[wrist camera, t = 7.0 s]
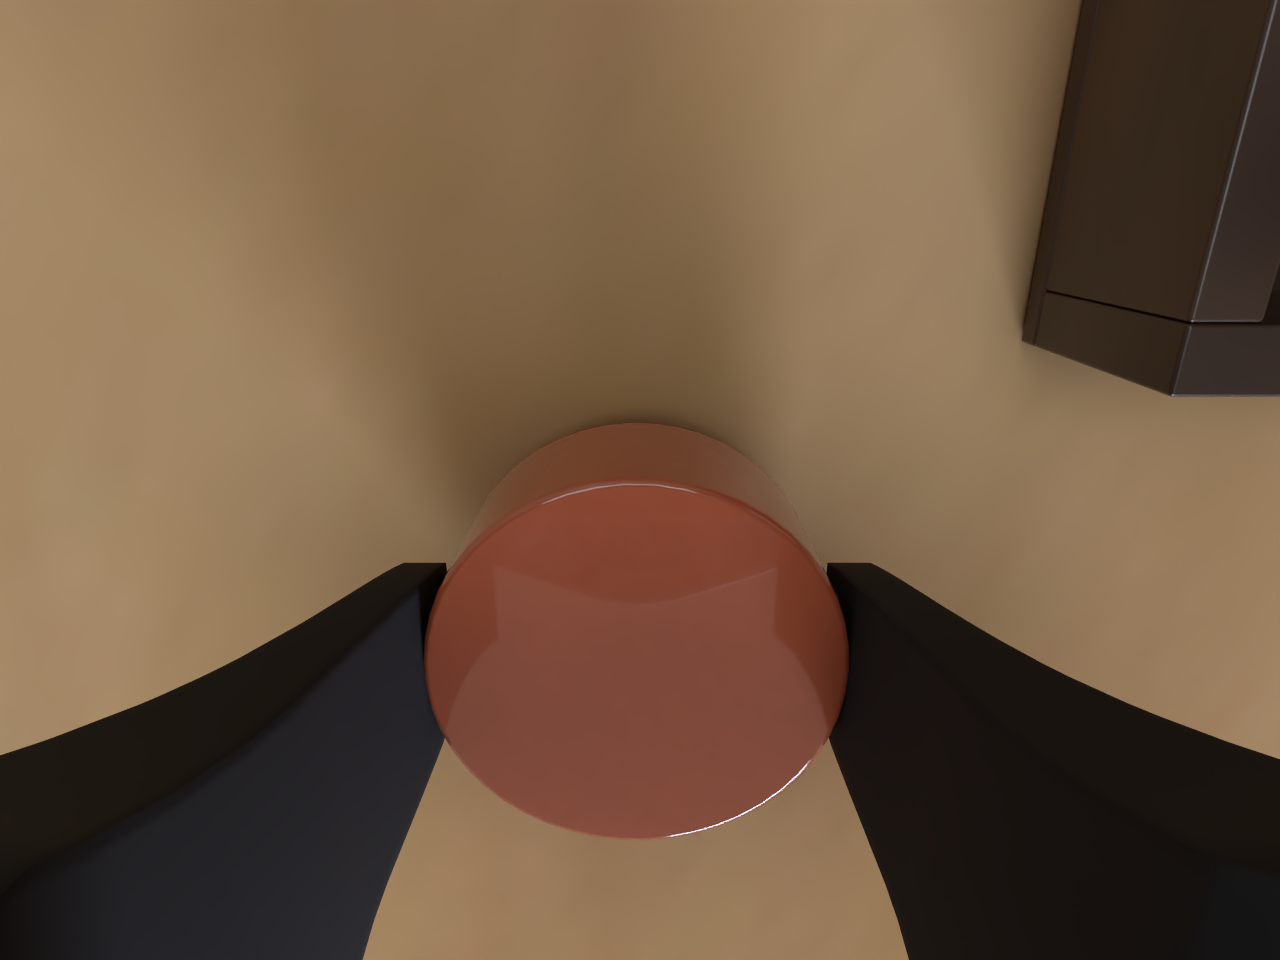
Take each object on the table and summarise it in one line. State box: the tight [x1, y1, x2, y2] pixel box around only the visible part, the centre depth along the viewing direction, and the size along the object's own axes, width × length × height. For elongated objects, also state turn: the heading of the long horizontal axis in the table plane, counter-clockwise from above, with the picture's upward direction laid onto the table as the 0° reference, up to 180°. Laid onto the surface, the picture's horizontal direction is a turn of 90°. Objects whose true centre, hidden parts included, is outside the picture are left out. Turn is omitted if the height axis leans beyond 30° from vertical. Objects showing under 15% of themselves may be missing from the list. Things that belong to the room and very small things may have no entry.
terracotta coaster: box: [424, 423, 849, 840], centre depth 11 cm, size 6×6×2 cm
